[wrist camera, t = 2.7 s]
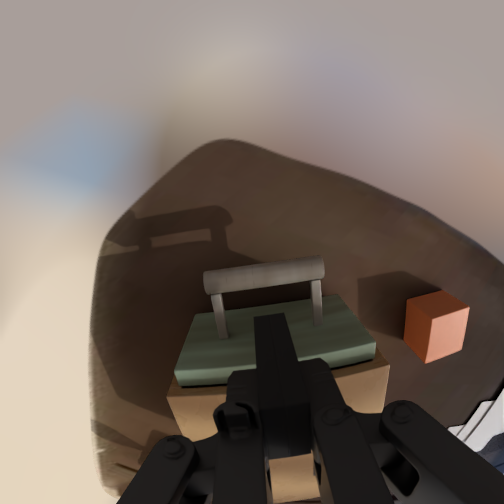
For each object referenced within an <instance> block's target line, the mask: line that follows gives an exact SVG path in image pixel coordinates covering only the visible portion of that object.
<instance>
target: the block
mask: <svg viewBox="0 0 504 504" xmlns="http://www.w3.org/2000/svg"><path fill="white" fill-rule="evenodd" d="M468 313H469V306H468V305H466V304H465V303H463V302H461V301H460V300H458V299H457V298H455V297H453V296H452V295H450V294H448V293H447V292H445V291H443V290H441V291H437V292H434V293H430V294H426V295H422V296H418V297H414V298H410V299H407V305H406V318H405V329H404V339H403V340H404V342H405V343H406V344H407V345H408V346H409V347H410V348H411V349H412V350H413V351H414V352H415V354H416V355H417V356H418V357H419V358H420V359H421V360H422V361H423V362H424V363H425V364H426V363H429V362H431V361H434V360H437V359H439V358H442V357H444V356H447V355H450V354H452V353H454V352H457V351H459V350H461V349H462V344H463V340H464V335H465V330H466V325H467V319H468Z"/></svg>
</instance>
